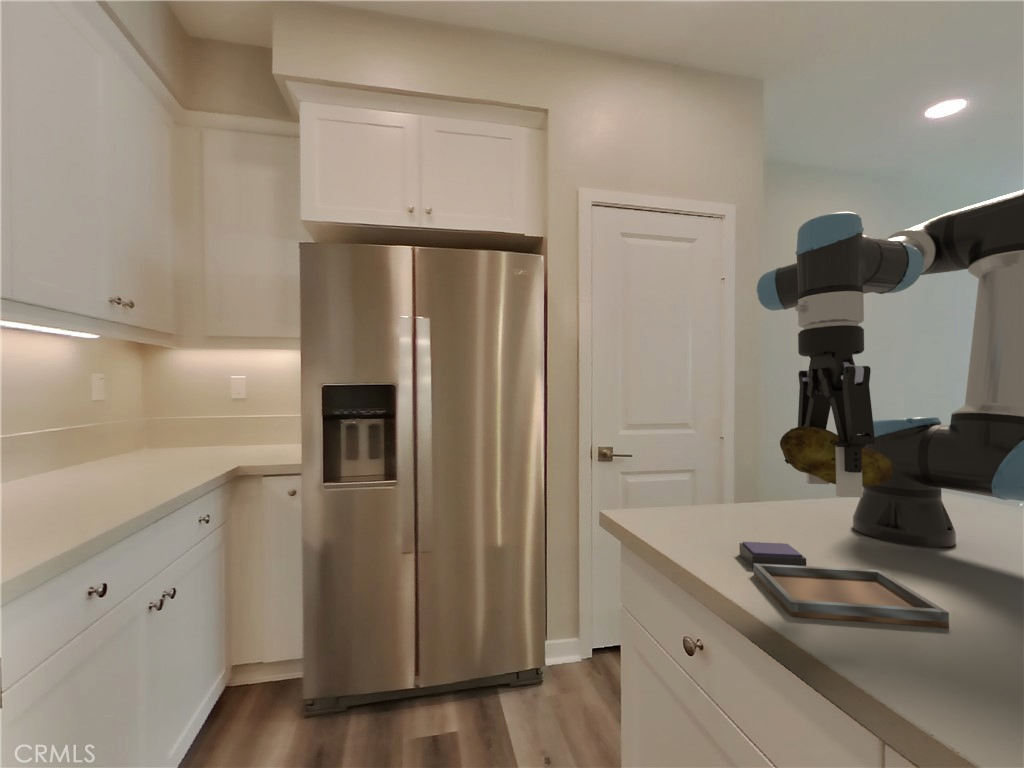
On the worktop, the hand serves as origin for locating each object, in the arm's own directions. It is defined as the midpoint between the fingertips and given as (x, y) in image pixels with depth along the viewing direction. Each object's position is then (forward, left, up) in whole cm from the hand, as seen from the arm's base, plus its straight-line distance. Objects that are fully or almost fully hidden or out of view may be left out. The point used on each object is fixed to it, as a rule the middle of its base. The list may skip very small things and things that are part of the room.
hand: (832, 489), depth 61 cm
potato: (0, 0, +1) cm, 1 cm away
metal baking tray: (0, 0, -15) cm, 15 cm away
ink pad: (+4, -12, -15) cm, 19 cm away
